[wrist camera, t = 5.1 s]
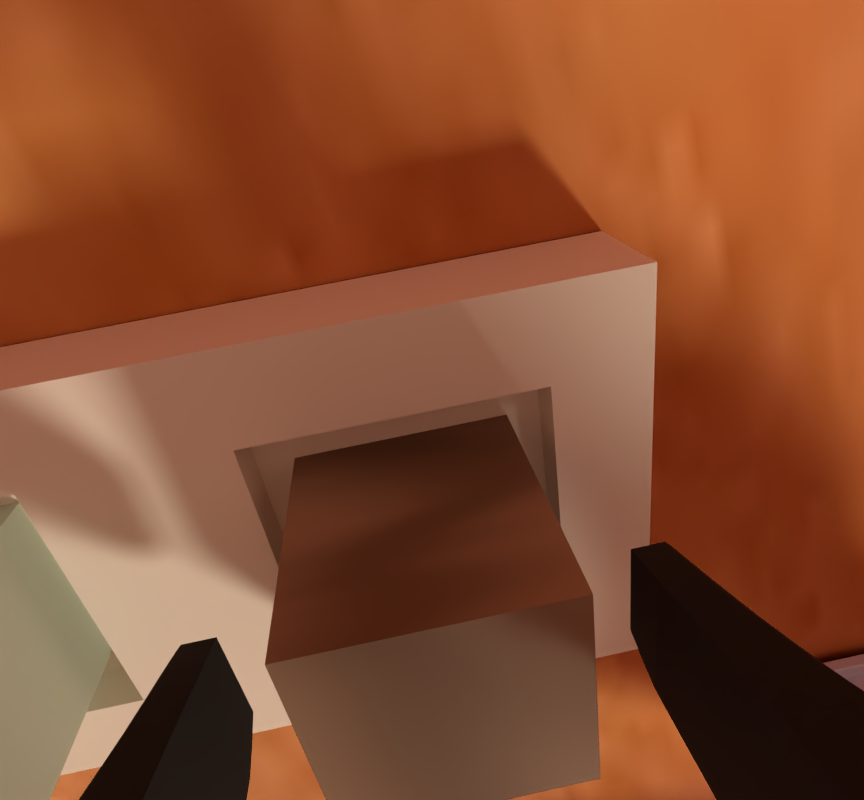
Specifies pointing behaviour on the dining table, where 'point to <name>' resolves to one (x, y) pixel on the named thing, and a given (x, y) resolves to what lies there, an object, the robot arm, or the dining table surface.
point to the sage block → (40, 661)
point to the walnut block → (433, 622)
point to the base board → (319, 439)
